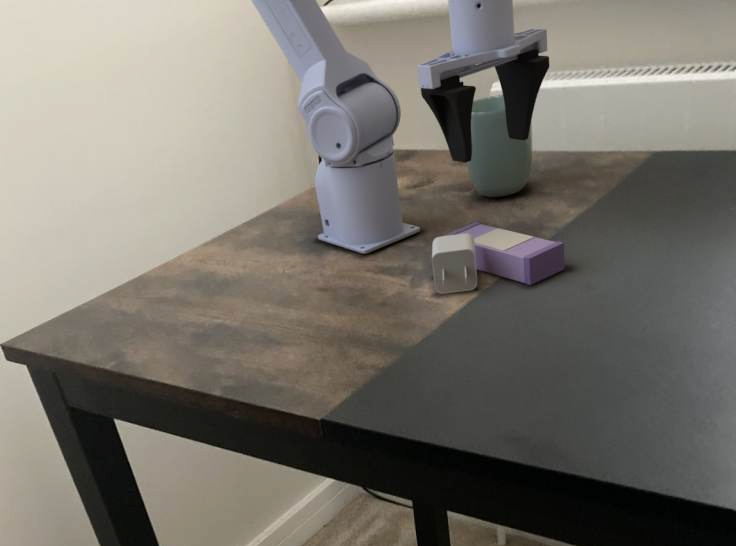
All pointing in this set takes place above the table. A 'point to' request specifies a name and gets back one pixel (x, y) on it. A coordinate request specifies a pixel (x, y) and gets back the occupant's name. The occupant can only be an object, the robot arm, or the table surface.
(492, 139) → the cup
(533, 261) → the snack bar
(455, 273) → the usb wall charger
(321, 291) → the table surface
